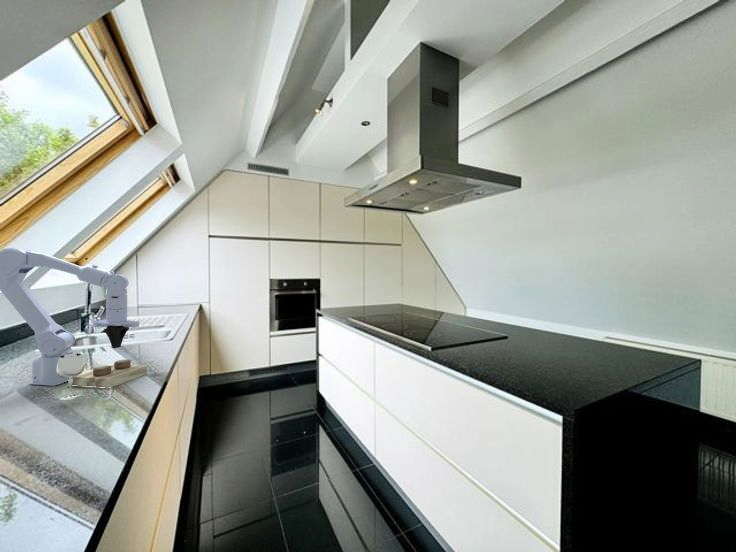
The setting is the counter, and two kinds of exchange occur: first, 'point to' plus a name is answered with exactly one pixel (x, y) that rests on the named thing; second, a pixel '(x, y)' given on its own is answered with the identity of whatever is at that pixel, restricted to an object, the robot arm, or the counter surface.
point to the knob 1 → (102, 370)
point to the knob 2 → (122, 364)
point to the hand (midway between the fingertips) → (116, 347)
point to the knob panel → (110, 376)
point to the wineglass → (70, 368)
